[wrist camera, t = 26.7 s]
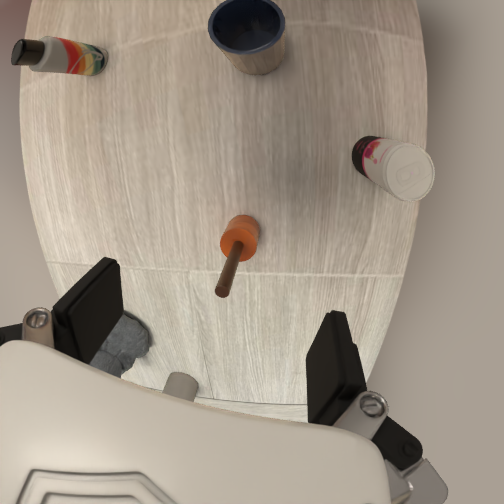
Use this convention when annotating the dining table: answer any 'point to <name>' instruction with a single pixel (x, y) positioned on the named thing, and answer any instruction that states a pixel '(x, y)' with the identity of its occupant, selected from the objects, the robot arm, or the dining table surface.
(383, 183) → the beverage can
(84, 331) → the robot arm
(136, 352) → the koala plush
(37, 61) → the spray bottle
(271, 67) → the tumbler
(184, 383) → the cup
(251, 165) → the dining table surface
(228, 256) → the plunger
